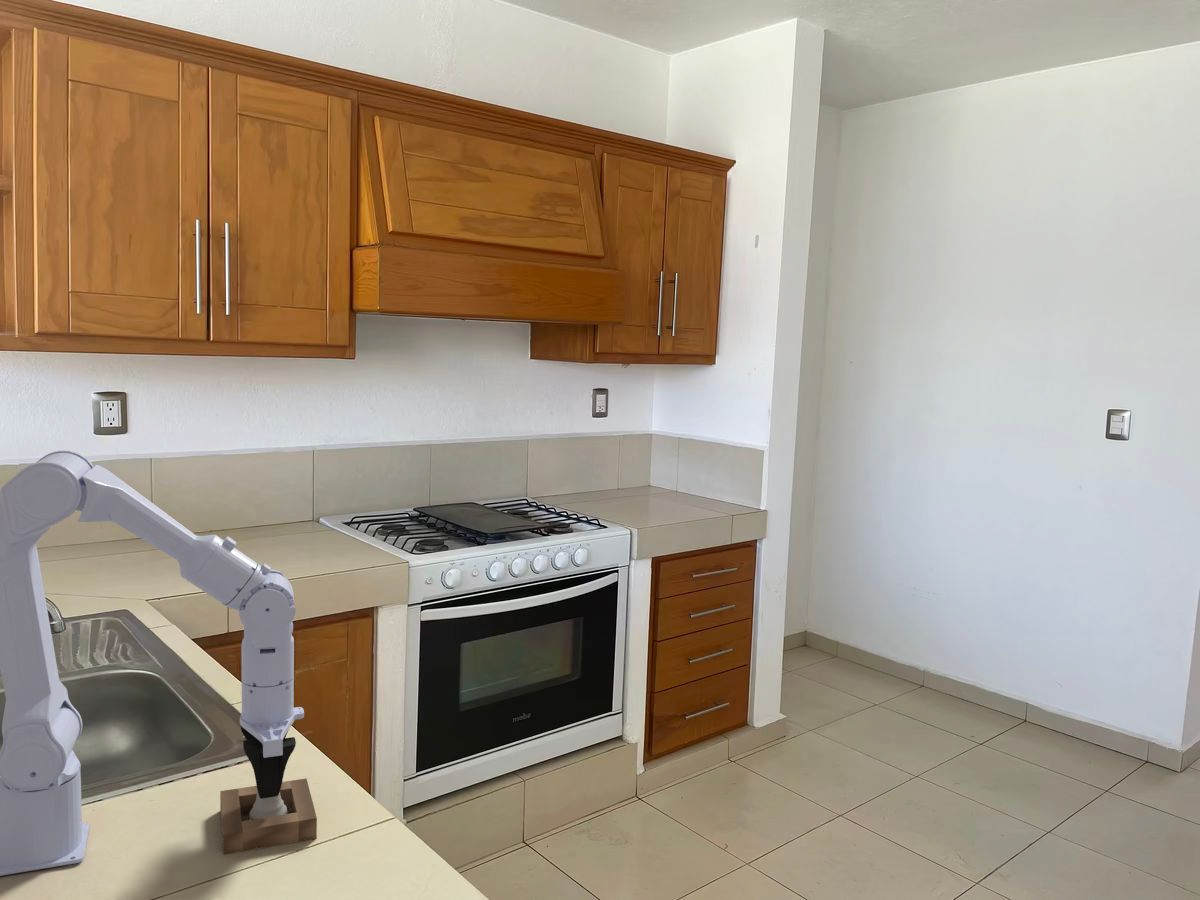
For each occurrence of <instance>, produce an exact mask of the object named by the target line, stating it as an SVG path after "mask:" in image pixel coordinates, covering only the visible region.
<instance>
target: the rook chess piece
mask: <svg viewBox="0 0 1200 900" xmlns="http://www.w3.org/2000/svg"><path fill="white" fill-rule="evenodd" d="M284 814H288V808H287V807H286V805H284V802H283V800H282V799H281V796H280V793H279V795H278V796H276V797H269V798H263V799H260V797H259V794H258V790H257V797H256V801H255V803H254V805H253V808H252V809H251V811H250V813H249V814H248V817H249V820H253V819H259V818H265V817H272V816H278V815H284Z"/></svg>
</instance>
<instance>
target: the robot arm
mask: <svg viewBox="0 0 1200 900" xmlns="http://www.w3.org/2000/svg"><path fill="white" fill-rule="evenodd" d="M75 511H80V515H79V517H78V520H77V521H78V522H79V523H89V522H90V523H92V522H94V523H95V522H96V523H97V522H112V523H115V524H116V525H118V526H120V527H121V528H123V529H125V530H126V531H128V532H130V533H131V534H133V535H134V536H136V537H138V538H140V539H141V540H143V541H145V542H146V543H148V544H150V545H151V546H153V547H155V548H156V549H158V550H160V551H162V552H163V553H165V554H166V555H168V556H170V557H172V558H173V559H175V560H177V563H178V565H179V571H180V577H181V578H182V579H184V580H186V581H187V582H189V583H190V584H191V585H193V586H195V587H197V588H198V589H199V590H201V591H202V592H204V593H205V594H207V595H209V596H210V597H211V598H213V599H215V600H216V601H218V602H219V603H221V604H222V605H223V606H225V607H227V608H228V609H232V610H236V611H238V614H239V615H238V616H239V619H240V621H241V623H242V624H243V638H242V641H241V649H240V650H241V713H240V715H239V725H240V731H241V733H242V734H243V737H244V738H245V740H243V741H242V745H243V746H242V747H243V751H244V754H245V756H246V757H247V759H248V760H249V762H250V764H251V767H252V769H253V770H252V771H253V773H254V778H255V786H257V790H258V794H259V797H260V799H263V798H269V797H276V796H278V795H279V793H280V789H281V785H282V782H283V779H284V775H285V770H286V766H287V764H288V761H289V760H290V757H291V755H292V753H293V752H294V751H295V747H296V745H297V740H296V738H295V737H294V736H292V737H287V734H288V732H289V731H290V728H291V727H292V725H293V723H294V722H295V721H296V720H302V719H304V717H305V711H304V708H303V707H301V706H297V707H294V706H295V704H294V703H295V702H294V698H295V697H294V690H295V689H294V683H295V682H294V681H295V671H294V669H295V666H294V665H295V639H294V636H293V635H292V634H293V631H294V623H293V621H294V619H295V615H296V612H297V608H296V607H295V594H294V589H293V586H292V584H291V582H290V580H289V579H288V578H287V577H286V576H285V575H284V574H283V573H282V572H281V571H279V570H276V569H272V567H271V566H269V565H268V564H267V563H265V562H264V563H262V564H260V563H258V562H256V561H255V560H253V559H252V558H250V557H249V556H247V555H246V554H244V553H243V552H242V551H240V550H239V549H237V548H236V546H237V541H235V540H234V539H233V538H231V536H226V537H225V538H224V539H222V538H221V537H219V536H218V535H217V534H208V535H197V534H195V533H193V531H191V530H190V529H188V528H186V527H185V526H184V525H183V524H182V523H180V522H178V521H177V520H176V519H175V518H173V517H172V516H170V515H169V514H168V513H166V511H164V510H162V509H161V508H160V507H159V506H157V505H156V504H155V503H153V502H152V501H150V500H149V499H148V498H146V497H145V496H144V495H143V494H141V493H140V492H139V491H137V490H136V489H134V488H133V487H132V486H130V485H129V484H127V483H126V482H125V481H124V480H122V479H121V478H119V477H118V476H117V475H115V473H113V472H111V471H110V470H108V469H107V468H105V467H103V466H101V465H99V464H95V465H93V463H92V462H91V460H90V459H88V458H87V457H86V456H85V455H83V454H80V453H79V452H75V451H72V450H56V451H52V452H50V453H48V454H45V455H44V456H42V457H41V458H39V460H38V461H36V462H35V463H33V464H32V463H31V464H30V465H27V466H26V467H23V469H21V470H20V471H19V472H18V473H16V474H15V475H14V476H13V477H12V478H11V479H9V481H7V482H6V483H5V484H4V485H3V486H1V488H0V674H1V678H2V679H1V680H2V685H3V686H2V687H3V691H4V696H5V705H4V710H3V711H4V712H3V717H2V723H1V733H2V747H1V749H0V877H1V876H7V875H12V874H19V873H26V872H30V871H37V870H43V869H48V868H49V869H50V868H55V867H61V866H68V865H72V864H74V865H75V864H79V863H81V862H83V861H84V858H85V852H86V847H87V846H86V845H87V843H88V842H87V840H88V836H89V831H90V823H89V822H83V816H82V815H83V814H82V812H83V810H82V777H81V775H82V773H81V769H82V768H81V767H82V766H81V761H80V760H79V758H78V757H77V755H76V754H75V751H74V750H73V747H74V746H75V744H76V743H77V742H78V740H79V739H80V736H81V734H82V730H83V720H82V716H81V715H80V713H79V711H78V710H77V709H76V708H75V707H74V705H73V704H72V703H71V701H70V699H69V693H68V689H67V687H66V686H65V685H64V684H63V682H61V680H60V677H59V671H58V665H57V660H56V659H57V658H56V652H55V647H54V646H55V645H54V640H53V635H52V629H51V624H50V618H49V612H48V605H47V599H46V593H45V588H44V587H45V586H44V583H43V577H42V570H41V564H40V558H39V553H38V552H39V551H38V548H37V544H38V542H39V541H40V540H41V539H42V537H44V535H45V534H46V533H47V532H48V531H49V530H50V529H51V528H52V527H53V526H55V525H57V524H59V523H60V522H63V521H64V520H66V519H67V518H69V517H71V515H73V514H74V513H75Z"/></svg>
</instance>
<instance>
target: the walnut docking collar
mask: <svg viewBox="0 0 1200 900" xmlns="http://www.w3.org/2000/svg"><path fill="white" fill-rule="evenodd" d="M308 783H309V781H308V778H299V779H294V780H287V781H282V785H281V789H280V796H281V799H282V800H283V802H284V805H286V807H287V809H290V808H291V812H292V813H287V814H284V815H278V816H272V817H265V818H259V819H253V820H250V819H247V820H242V816H247V815H249V813H250V811H251V809H252V808H253V805H254V803H255V801H256V797H257V785H252V786H246V787H239V788H238V787H237V788H233V789H225V790H220V791H219V792H220V795H219V797H220V805H219V806H220V810H219V811H220V820H221V821H220V823H221V826H220V827H221V838H222V839H221V840H222V851H223V852H222V853H223V855H227V854H235V853H240V852H245V851H251V850H257V849H263V848H269V847H274V846H279V845H280V846H281V845H286V844H291V843H297V842H303V841H309V840H314V839H317V836H318V835H317V832H318V828H317V827H318V822H317V821H318V819H317V818H318V817H317V813H316V809H315V806H314V802H313V797H312V795H311V790H310V787H309V784H308Z"/></svg>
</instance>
